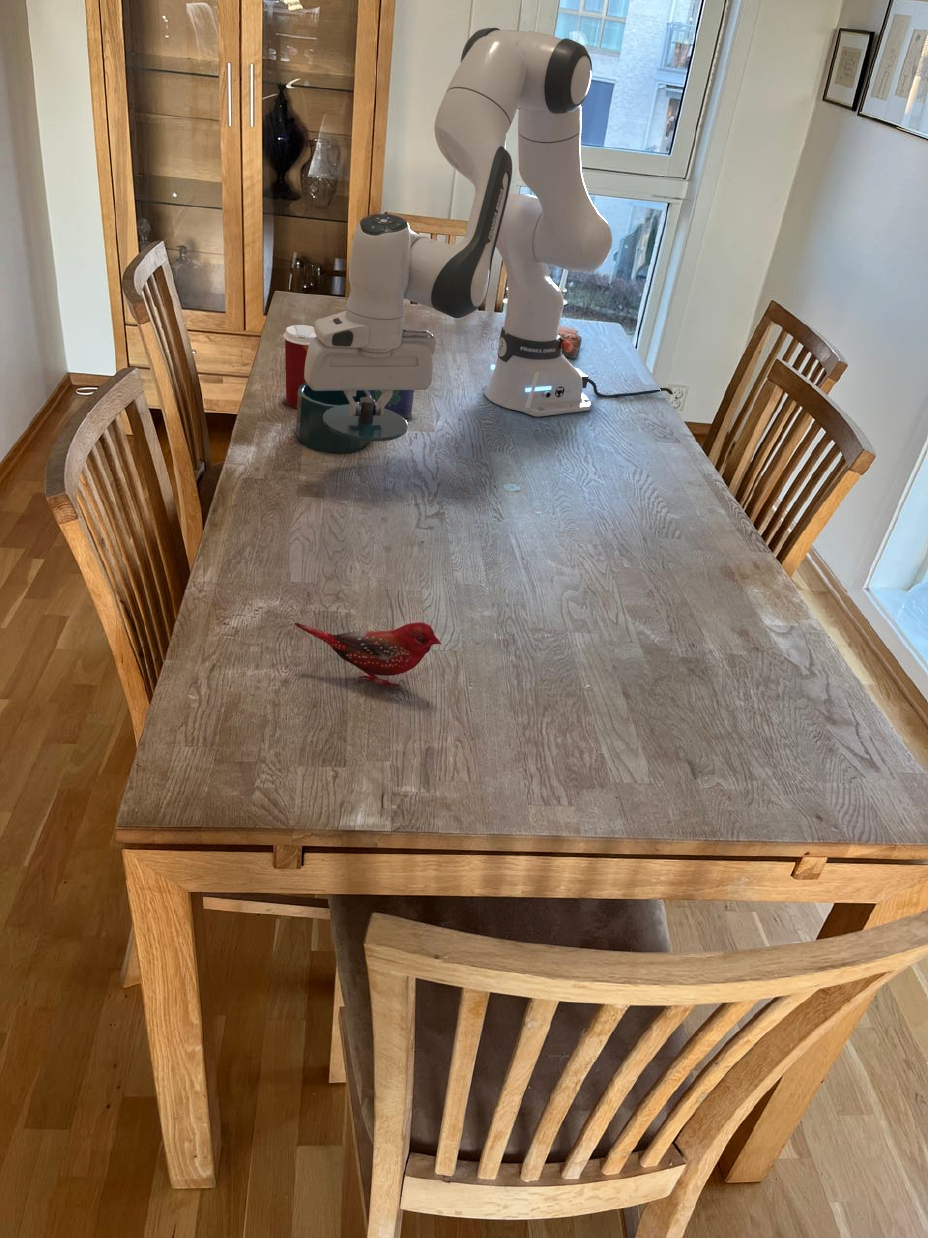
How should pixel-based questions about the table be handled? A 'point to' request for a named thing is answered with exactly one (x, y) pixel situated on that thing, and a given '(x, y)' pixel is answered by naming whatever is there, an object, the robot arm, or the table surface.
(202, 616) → the table surface
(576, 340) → the pottery shard
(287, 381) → the paper cup
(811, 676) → the table surface
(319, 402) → the pot
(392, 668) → the decorative bird figurine
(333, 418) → the pot lid
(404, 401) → the flask
